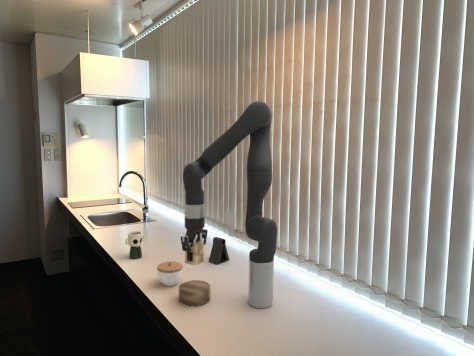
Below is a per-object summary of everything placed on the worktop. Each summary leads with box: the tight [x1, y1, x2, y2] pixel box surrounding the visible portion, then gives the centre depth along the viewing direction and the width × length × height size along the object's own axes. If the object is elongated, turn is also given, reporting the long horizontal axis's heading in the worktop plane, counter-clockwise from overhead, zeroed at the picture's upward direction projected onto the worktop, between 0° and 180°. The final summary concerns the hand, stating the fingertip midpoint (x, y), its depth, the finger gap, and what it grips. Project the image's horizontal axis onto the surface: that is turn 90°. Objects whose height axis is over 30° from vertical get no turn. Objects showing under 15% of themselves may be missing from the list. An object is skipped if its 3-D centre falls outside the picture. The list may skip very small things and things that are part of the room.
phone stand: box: [208, 236, 230, 266], centre depth 176 cm, size 9×6×12 cm, turn 138°
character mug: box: [125, 230, 146, 259], centre depth 180 cm, size 11×7×13 cm, turn 136°
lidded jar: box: [156, 260, 184, 287], centre depth 150 cm, size 11×11×9 cm
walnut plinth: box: [178, 279, 211, 307], centre depth 136 cm, size 12×12×5 cm
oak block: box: [184, 240, 205, 266], centre depth 134 cm, size 5×5×8 cm
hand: (194, 258), depth 134 cm, fingers closed on oak block, 5 cm apart
